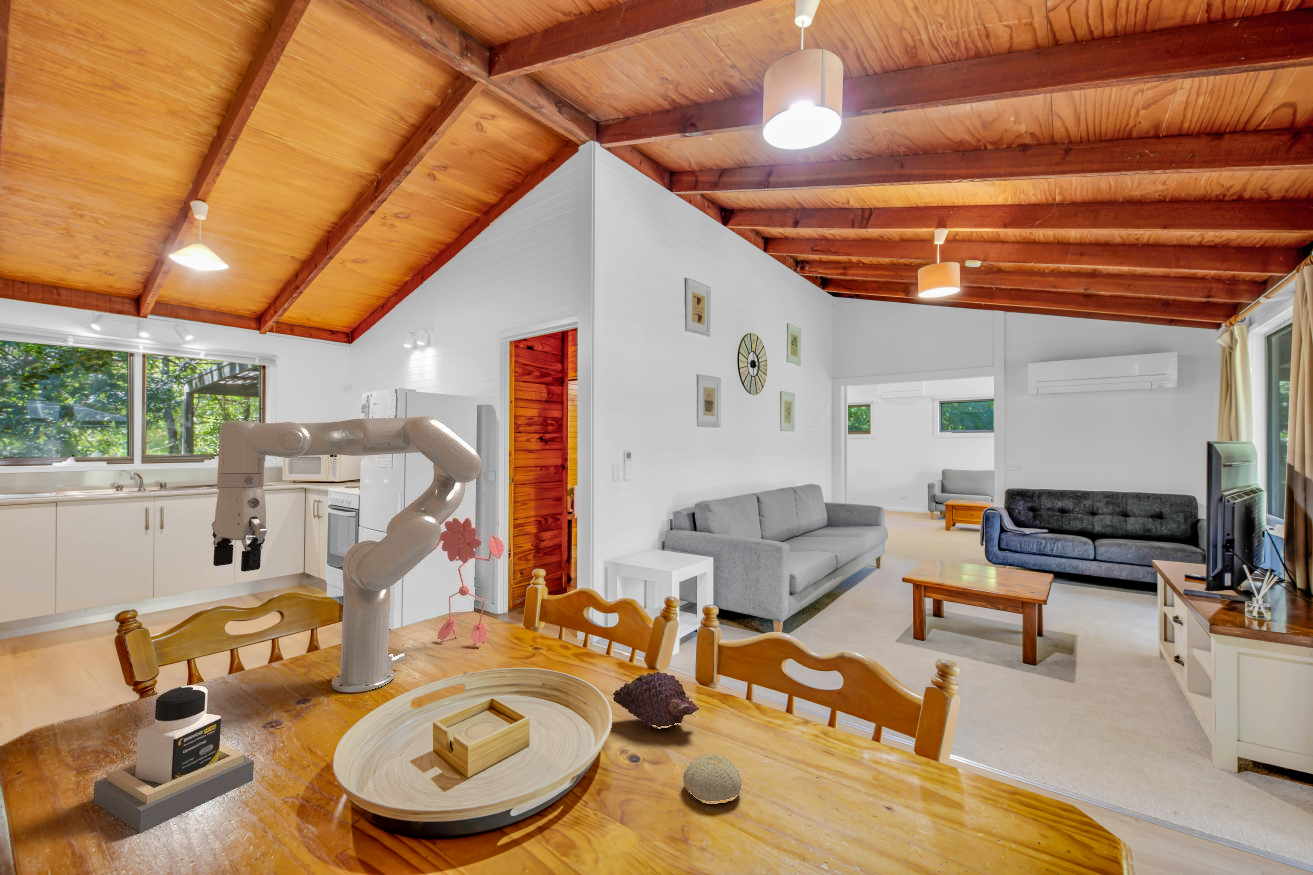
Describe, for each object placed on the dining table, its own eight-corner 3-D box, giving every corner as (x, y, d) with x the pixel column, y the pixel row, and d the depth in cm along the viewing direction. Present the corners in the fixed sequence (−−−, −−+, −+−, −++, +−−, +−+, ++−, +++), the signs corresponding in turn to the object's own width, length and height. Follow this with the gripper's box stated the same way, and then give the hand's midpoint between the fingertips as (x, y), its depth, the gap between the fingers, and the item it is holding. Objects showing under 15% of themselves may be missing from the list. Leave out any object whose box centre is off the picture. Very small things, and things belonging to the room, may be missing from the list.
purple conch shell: (604, 729, 106) (606, 676, 106) (622, 707, 116) (623, 659, 116) (694, 745, 101) (696, 689, 102) (705, 720, 111) (706, 670, 111)
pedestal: (205, 756, 93) (206, 731, 94) (253, 779, 87) (254, 752, 87) (93, 802, 81) (94, 772, 81) (139, 832, 75) (141, 801, 75)
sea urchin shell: (747, 766, 91) (741, 748, 86) (740, 822, 86) (734, 806, 81) (693, 755, 94) (685, 737, 89) (683, 808, 89) (674, 792, 84)
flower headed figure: (433, 633, 159) (436, 512, 160) (512, 644, 152) (515, 517, 152) (393, 652, 145) (397, 518, 145) (479, 665, 137) (482, 524, 138)
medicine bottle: (171, 786, 80) (176, 702, 81) (133, 779, 82) (138, 697, 82) (220, 760, 87) (224, 683, 87) (184, 754, 89) (188, 678, 89)
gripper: (286, 483, 111) (281, 569, 110) (237, 479, 119) (233, 560, 118) (244, 484, 104) (240, 576, 104) (195, 480, 112) (191, 565, 111)
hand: (236, 567), depth 111 cm, fingers open, 9 cm apart
